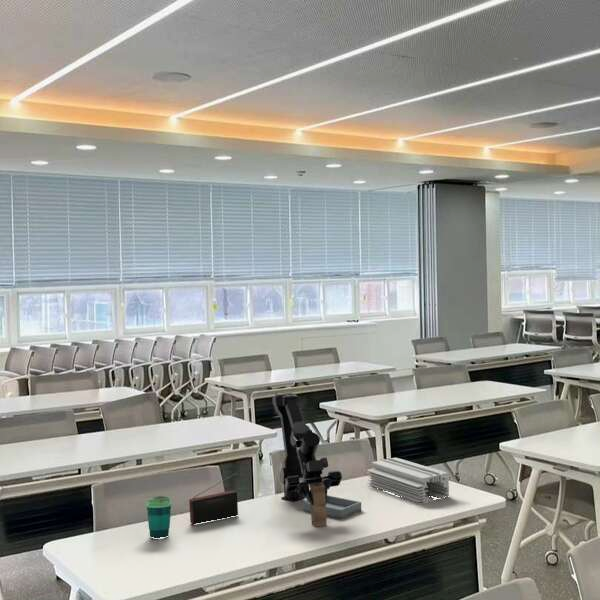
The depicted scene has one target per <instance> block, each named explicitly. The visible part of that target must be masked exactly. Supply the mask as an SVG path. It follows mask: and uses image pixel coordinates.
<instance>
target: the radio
mask: <svg viewBox="0 0 600 600" xmlns="http://www.w3.org/2000/svg"><path fill="white" fill-rule="evenodd" d="M238 473H240V472H239V471H237V472H236V473H234V474H232V475H231V476H229V477H227V478H225V479H223V480H221V481H220V482H217V483H216V484H214V485H212V486H210V487H209V488H207V489H206V490H203V491H202V492H199V493H198V494H196V495H195V496H193V497H192V498H190V499H189V501H188V502H189V516H190V517H189V521H190V522H191V523H192V524H196V523H201V522H206V521H211V520H217V519H222V518H227V517H231V516H236V515H238V516H239V507H238V506H239V505H238V493H237V492H236V491H235V490H229V491H224V492H219V493H213V494H209V495H204V496H200V495H201V494H204V493H205V492H207V491H208V490H210V489H212V488H214V487H215V486H217V485H219V484H221V483H222V482H224V481H226V480H227V479H229V478H231V477H233V476H235V475H236V474H238ZM199 496H200V497H199ZM191 523H190V524H191ZM192 524H191V525H192Z"/></svg>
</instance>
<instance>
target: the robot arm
mask: <svg viewBox="0 0 600 600" xmlns="http://www.w3.org/2000/svg"><path fill="white" fill-rule="evenodd" d="M271 398H272V405H273V406H274V411H275V413H276V414H277V415H278V416H279V417H280V424H281V433H282V441H283V448H284V455H285V456H284V459H283V461H282V463H281V466H282V467H281V470H280V473H279V481H280V483H281V484H282V485H283V496H281V500H285V501H286V500H287V501H291V502H296V501H298V500H301V499H306V501H307V500H308V501H309V502H310V503H311V505H314V502H313V498H312V495H311V492H310V484H315V483H322V484H323V485H325V496H326V502H327V495H328V490H329V489H330V488H331V487H338V486H340V484H341V482H342V479H343V474H342V472H341V471H340V470H333V471H328V474H327V475H326V476H325V475H324V476H322V475H323V470H324V469H326V468H328V467H329V462H328V459H327V457H321V458H320V459H319V460H318V459H317V457H316V453H317V452H318V448H319V445H320V442H321V441H320V440H321V438H320V436H319V435H318V433H315V432H313V429H311V428H310V426H309V425H307V424H306V423H305V421H304V419H303V416H302V412H301V409H300V407H299V403H298V395H297V394H295V393H293V392H292V391H288V392H286V391H285V392H275V394H274V396H272V397H271Z"/></svg>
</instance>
